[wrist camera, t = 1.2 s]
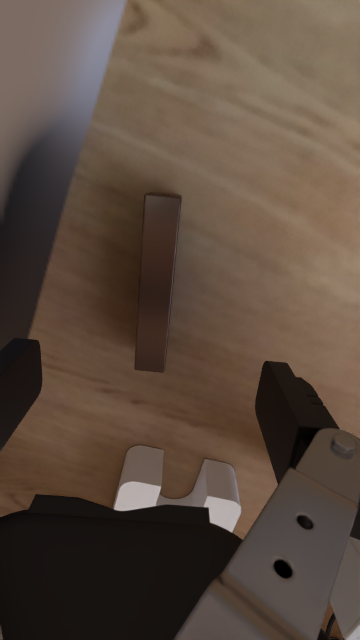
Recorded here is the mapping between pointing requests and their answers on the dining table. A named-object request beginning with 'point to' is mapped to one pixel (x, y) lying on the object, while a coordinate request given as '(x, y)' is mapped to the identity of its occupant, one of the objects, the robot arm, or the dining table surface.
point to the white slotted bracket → (209, 491)
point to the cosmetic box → (348, 592)
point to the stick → (156, 279)
